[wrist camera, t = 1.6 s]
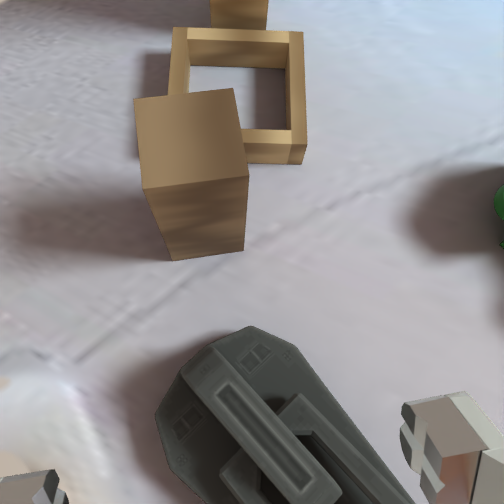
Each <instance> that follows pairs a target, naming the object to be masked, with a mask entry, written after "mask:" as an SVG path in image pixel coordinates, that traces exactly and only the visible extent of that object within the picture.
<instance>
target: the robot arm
mask: <svg viewBox="0 0 504 504" xmlns="http://www.w3.org/2000/svg"><path fill="white" fill-rule="evenodd" d="M401 415H402V417H403V418H404V420H405V423H404V424H403V425H402V426H401V427H400V442H401V447H402V451H403V453H404V456H405V459H406V461H407V463H408V465H409V467H410V468H411V469H412V470H413V471H415V472H416V473H418V474H419V475H421V479H420V487H421V489H422V491H423V493H424V495H425V496H426V498H427V500H428V502H429V504H504V436H503V435H502V433H501V432H500V431H499V430H498V429H497V427H496V426H495V425H494V424H493V422H492V421H491V420H490V419H489V418H488V416H487V415H486V414H485V413H484V411H483V410H482V409H481V408H480V407H479V405H478V404H477V403H476V402H475V400H474V399H473V398H472V397H471V396H470V394H468V393H467V392H465V391H462V392H457V393H452V394H447V395H440V396H435V397H430V398H425V399H420V400H415V401H410V402H405V403H404V404H403V406H402V411H401ZM58 483H59V477H58V475H57V473H56V471H55V469H54V470H45V471H39V472H32V473H26V474H20V475H14V476H7V477H3V478H0V504H69V501H68V498H67V495H66V493H65V492H64V491H62V490H60V489H58V488H57V487H58Z"/></svg>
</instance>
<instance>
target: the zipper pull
mask: <svg viewBox="0 0 504 504" xmlns="http://www.w3.org/2000/svg"><path fill="white" fill-rule="evenodd" d="M155 420H156V424H157V427H158V430H159V434H160V437H161V441H162V444H163V448H164V451H165V455H166V458H167V462H168V465H169V467H170V469H171V470H172V472H173V473H175V474H176V475H177V476H178V477H179V478H180V479H181V480H182V481H183V482H184V483H185V484H186V485H187V486H188V487H189V488H190V489H191V490H193V491H194V492H195V493H196V494H197V495H198V496H199V497H200V498H201V499H202V500H203V501H204V502H205V503H206V504H415V502H414V501H413V500H412V498H411V497H410V496H409V495H408V493H407V492H406V491H405V489H404V488H403V487H402V485H401V484H400V483H399V481H398V480H397V479H396V478H395V476H394V475H393V474H392V472H391V471H390V470H389V468H388V467H387V466H386V465H385V463H384V462H383V461H382V459H381V458H380V457H379V455H378V454H377V453H376V451H375V450H374V449H373V448H372V446H371V445H370V444H369V442H368V441H367V440H366V438H365V437H364V436H363V435H362V433H361V432H360V431H359V429H358V428H357V427H356V425H355V424H354V423H353V421H352V420H351V419H350V418H349V416H348V415H347V414H346V412H345V411H344V410H343V408H342V407H341V406H340V404H339V403H338V402H337V401H336V399H335V398H334V397H333V395H332V394H331V393H330V391H329V390H328V389H327V387H326V386H325V385H324V383H323V382H322V381H321V379H320V378H319V377H318V375H317V374H316V373H315V371H314V370H313V369H312V367H311V366H310V365H309V363H308V362H307V360H306V359H305V358H304V356H303V355H302V354H301V352H300V351H299V350H298V348H297V347H296V346H295V345H293V344H291V343H289V342H287V341H285V340H282V339H280V338H278V337H276V336H274V335H271V334H269V333H267V332H265V331H263V330H260V329H258V328H256V327H254V326H248V327H246V328H243V329H241V330H239V331H237V332H235V333H232V334H230V335H228V336H226V337H224V338H222V339H219V340H217V341H215V342H213V343H210V344H208V345H206V346H205V347H204V348H203V349H202V350H201V351H199V352H198V353H197V354H196V355H195V356H194V357H193V358H192V359H191V360H190V361H189V362H188V363H186V364H185V365H184V366H183V367H182V368H181V370H180V371H179V373H178V375H177V376H176V378H175V380H174V382H173V384H172V385H171V387H170V389H169V391H168V392H167V394H166V396H165V397H164V399H163V401H162V403H161V404H160V406H159V408H158V410H157V411H156V414H155Z"/></svg>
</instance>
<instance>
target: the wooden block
mask: <svg viewBox="0 0 504 504" xmlns="http://www.w3.org/2000/svg"><path fill="white" fill-rule="evenodd" d="M133 100H134V110H135V120H136V130H137V140H138V149H139V159H140V169H141V179H142V189H143V191H144V194H145V196H146V199H147V201H148V203H149V206H150V208H151V210H152V213H153V215H154V218H155V220H156V222H157V225H158V227H159V230H160V232H161V234H162V237H163V239H164V241H165V244H166V246H167V249H168V251H169V253H170V256H171V258H172V261H178V260H184V259H191V258H198V257H205V256H212V255H219V254H225V253H232V252H239V251H244V238H245V225H246V212H247V200H248V187H249V170H248V165H247V160H246V154H245V149H244V144H243V138H242V133H241V128H240V122H239V117H238V111H237V106H236V101H235V95H234V90H233V88H228V89H219V90H210V91H201V92H192V93H183V94H174V95H165V96H156V97H147V98H138V99H133Z"/></svg>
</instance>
